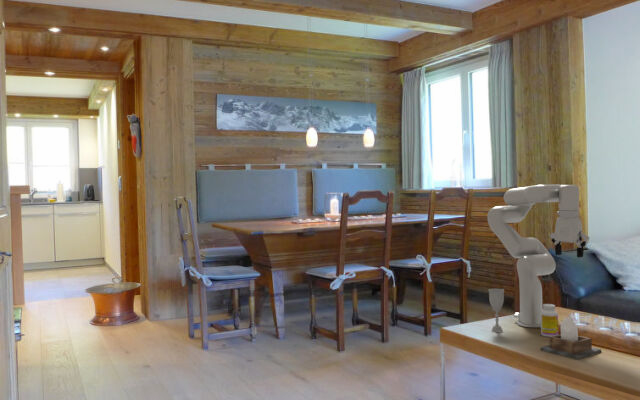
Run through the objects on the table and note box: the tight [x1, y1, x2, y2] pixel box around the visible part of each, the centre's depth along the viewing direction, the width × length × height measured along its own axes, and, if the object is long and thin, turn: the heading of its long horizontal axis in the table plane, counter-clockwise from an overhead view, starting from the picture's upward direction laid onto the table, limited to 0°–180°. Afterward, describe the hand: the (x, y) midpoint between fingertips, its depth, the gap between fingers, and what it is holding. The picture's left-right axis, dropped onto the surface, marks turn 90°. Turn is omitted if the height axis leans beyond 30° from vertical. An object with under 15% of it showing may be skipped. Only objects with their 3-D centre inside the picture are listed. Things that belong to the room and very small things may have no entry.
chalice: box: [487, 288, 505, 333], centre depth 234 cm, size 7×7×18 cm
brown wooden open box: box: [540, 333, 602, 360], centre depth 203 cm, size 15×15×5 cm
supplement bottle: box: [540, 303, 559, 338], centre depth 225 cm, size 7×7×13 cm
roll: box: [560, 315, 579, 342], centre depth 203 cm, size 6×12×6 cm
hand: (569, 255), depth 222 cm, fingers open, 9 cm apart
